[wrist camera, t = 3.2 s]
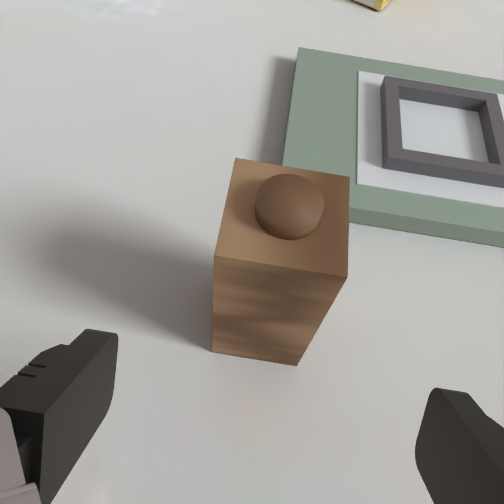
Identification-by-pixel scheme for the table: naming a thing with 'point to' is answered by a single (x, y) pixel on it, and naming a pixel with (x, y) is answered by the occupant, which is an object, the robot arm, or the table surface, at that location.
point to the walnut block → (278, 259)
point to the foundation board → (403, 143)
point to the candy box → (374, 3)
